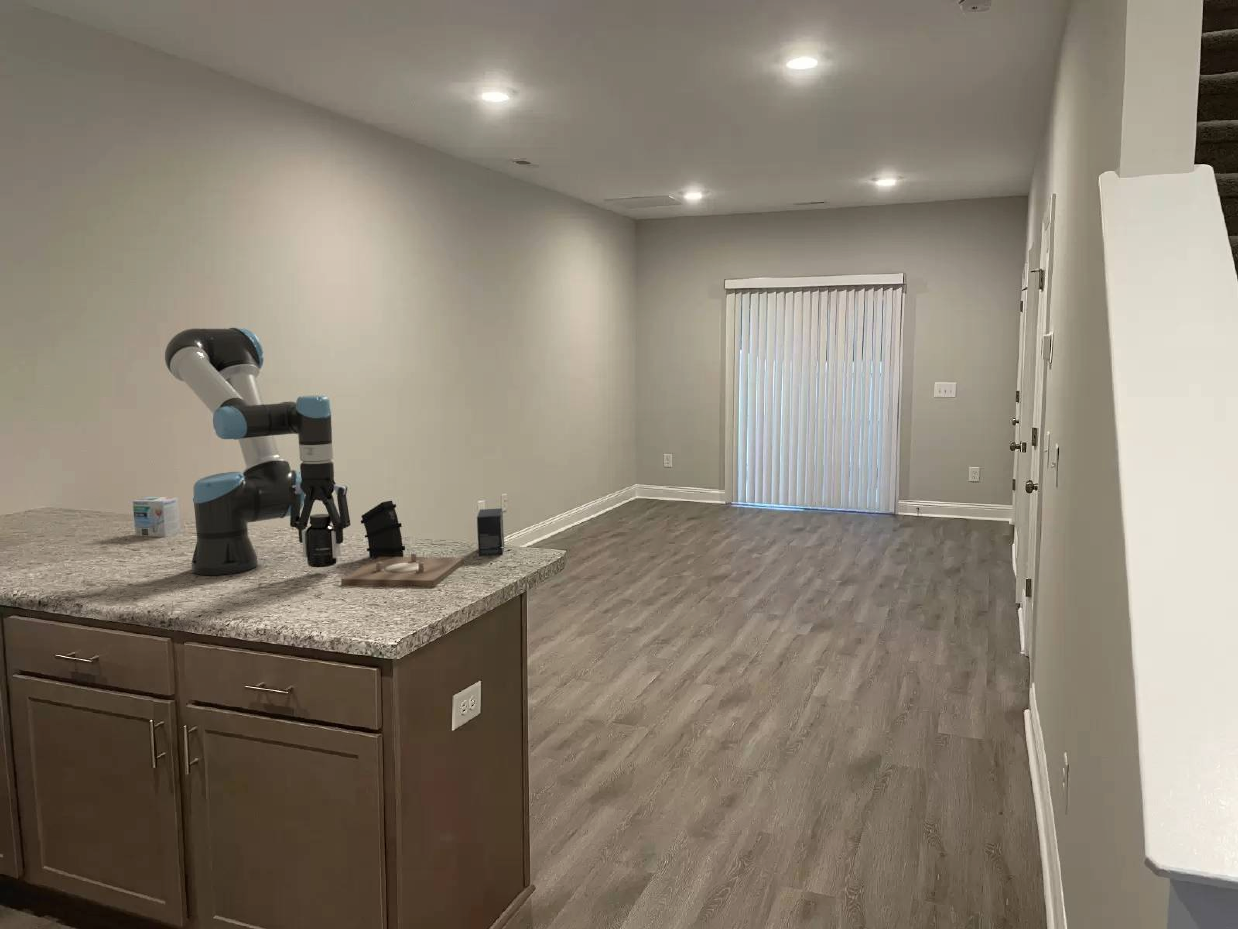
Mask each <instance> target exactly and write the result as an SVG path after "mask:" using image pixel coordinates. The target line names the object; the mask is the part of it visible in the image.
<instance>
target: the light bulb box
mask: <svg viewBox="0 0 1238 929" xmlns="http://www.w3.org/2000/svg"><path fill="white" fill-rule="evenodd" d="M132 508H133V510H132V511H133V518H134V519H133V520H134V532H135V536H136V537H153V538H154V537H157V538H166V537H170V536H173V535H178V534H180V533H181V524H180V522H181V521H180V512H179V511H180V510H179V498H178V497H169V496H168V497H165V496H164V497H161V496H160V497H159V496H146V497H143V498H138V499H134V500H132Z"/></svg>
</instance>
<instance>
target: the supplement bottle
mask: <svg viewBox="0 0 1238 929" xmlns="http://www.w3.org/2000/svg"><path fill="white" fill-rule="evenodd" d="M307 528H308V529H307ZM307 528H306V529H307V530H306V546H307V557H306V562H307V565H308V566H309V567H311V568H328V567H329V568H330V567H332V566H335V565H336V564H337V562H338V560H337V559H338V557H337V558H333V551H332V534H331V531H333V530H334V527H333V524H332V522H331V519H330V517H329V514H328V513H317V514H312V515H311V514H310V517H309V526H308V527H307Z"/></svg>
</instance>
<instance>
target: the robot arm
mask: <svg viewBox="0 0 1238 929" xmlns="http://www.w3.org/2000/svg"><path fill="white" fill-rule="evenodd" d="M263 354H264V351H263V346H262V344H261V342H260V339H259V338H258V336H257V335H256V334H255V333H254V332H253V331H251V330H249V329H247V328H237V327H230V328H189V329H185V330H182V331H180V332H179V333H177V334H175V335H174V336H173V337H172V338H171V339H170V341H169V342H168V343H167V345H166V348H165V350H164V361H165V365H166V367H167V369H168V371H169V372H170V373H171V374H172V376H174V378H176V379H177V380H179V381H181V382H184V383H185V384H186V385H187V386H188V387H189V389H191V390H192V391H193V393H194V394H195V395H196V397H198V399H199V400H200V401H201V403H203V404H204V405H205V406H206V408H208V409H209V411H210V412H211V413H212V415H213V416H212V425H213V429H214V430H215V434H216V436H217V438H220V439H221V440H238V443H239V447H240V450H241V453H242V457H243V459H244V463H245V465H246V466H245V469H244V470H243V472H241V471H228V472H221V473H220V472H219V473H216V474H212V475H207V476H205V477H203V478H200V479H198V480H197V481H195V483H194V484H193V487H192V488H193V489H192V490H193V498H192V502H193V508H194V520H195V530H196V543H195V546H194V551H193V554H192V560H191V565H190V566H191V573H193V574H195V575H200V576H220V575H222V576H223V575H230V574H237V573H240V572H241V573H242V572H245V571H249V570H252V569H254V568H256V567H257V566H258V565H259V562H258V560H259V559H258V555H257V552H256V550H255V549H254V546H253V544H252V541H251V539H250V536H249V530H248V523H253V522H255V523H256V522H262V521H267V520H275V519H284V518H286V517H289V519H290V520H289V526H290V527H291V528H295V529H297V531H298V541H299V544H300V543H301V544H302V557H303V558H307V546H306V530H307V529H308V528H309V525H308V522H309V521H310V516H311V512H312V509H313V506H314V503H315V501H318V502H319V501H320V502H322V504H323V505H324V506H325V509H326V512H327V514H329V517H330V519H331V525H332V526H333V527H334V530H333V531H331V534H332V551H333V558H337V559H338V557H340V556H342V552H341V544H343V542H344V529H347V528H348V527H350V526H351V518H350V517H351V516H350V512H349V511H350V510H349V505H348V499H347V493H348V486H347V485H343V486H342V485H338V484H336V482H335V471H334V470H335V469H334V468H335V467H334V462H333V461H331V460H333V459H334V451H333V432H332V428H333V427H332V410H331V403H330V399H329V397H328V396H326V395H304V396H303V395H301V396H298V397H297V398H296V402H295V401H283V402H280V403H269V404H268V403H266V404H265V403H264V399H263V397H262V394H261V391H260V388H259V384H258V380H257V378H258V376H259V374H260V370H261V368H262V367H263V365H264V364H263V363H264V356H263ZM283 435H297V438H298V448H299V461H301V462H300V465H299V470H300V471H299V470H295V469H293V470H292V469H291V466H290V463H289V461H288V460H286V459H285V458H282V457H281V454H280V452H279V448H278V446H277V442H276V439H275V436H283ZM334 491H335V495H336V500H337V506H338V508H337V506H336V504H335V499H334V496H333V492H334Z"/></svg>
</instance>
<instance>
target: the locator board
mask: <svg viewBox="0 0 1238 929" xmlns="http://www.w3.org/2000/svg"><path fill="white" fill-rule="evenodd" d="M464 564H465V558H464V557H449V556H448V557H446V556H445V557H441V556H440V557H439V556H438V557H434V556H417V553H415V552H413V553H411V554H410V556H403V557H378V558H374V559H373V560H371V561H370V562H368V563H366V564H365V565H363V566H361V567H359V568H357V569H355V570H354V571H352V572H351V573H348V574H347V575H345V576H344V577H342V578H341V579H340V581H341V584H340V585H341V586H351V587H353V586H355V587H356V586H357V587H360V586H362V587H413V588H415V587H416V588H417V587H418V588H419V587H420V588H421V587H422V588H435V587H436V586H437V585H439V584H441V582H443V581H444V580H445V579H446V578H447V577H449V576H450V575H452V574H453V573H454V572H455V571H456V570H458V569H460V567H462V566H463V565H464Z"/></svg>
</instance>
